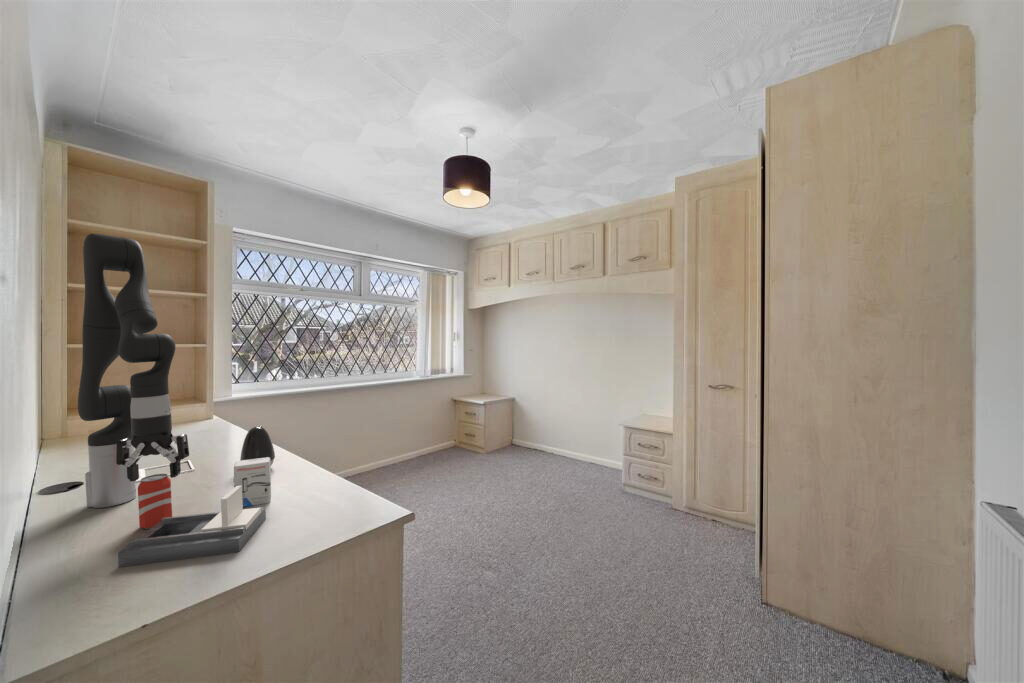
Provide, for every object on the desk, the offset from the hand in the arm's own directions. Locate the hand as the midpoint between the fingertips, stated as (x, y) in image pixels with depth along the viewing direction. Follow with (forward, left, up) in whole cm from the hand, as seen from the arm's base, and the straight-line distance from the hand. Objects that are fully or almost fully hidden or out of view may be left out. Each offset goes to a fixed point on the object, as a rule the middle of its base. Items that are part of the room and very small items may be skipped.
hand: (154, 478), depth 102 cm
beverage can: (0, 0, -12) cm, 12 cm away
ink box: (+19, +8, -12) cm, 24 cm away
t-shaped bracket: (+22, -12, -8) cm, 26 cm away
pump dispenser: (+10, +38, -12) cm, 41 cm away
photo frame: (-24, +46, -12) cm, 53 cm away
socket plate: (+15, -12, -12) cm, 22 cm away
